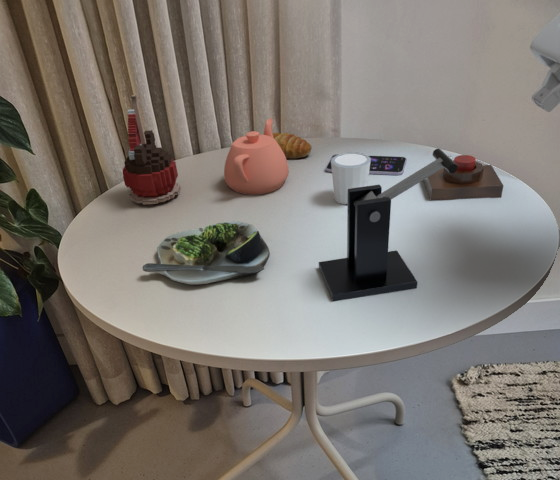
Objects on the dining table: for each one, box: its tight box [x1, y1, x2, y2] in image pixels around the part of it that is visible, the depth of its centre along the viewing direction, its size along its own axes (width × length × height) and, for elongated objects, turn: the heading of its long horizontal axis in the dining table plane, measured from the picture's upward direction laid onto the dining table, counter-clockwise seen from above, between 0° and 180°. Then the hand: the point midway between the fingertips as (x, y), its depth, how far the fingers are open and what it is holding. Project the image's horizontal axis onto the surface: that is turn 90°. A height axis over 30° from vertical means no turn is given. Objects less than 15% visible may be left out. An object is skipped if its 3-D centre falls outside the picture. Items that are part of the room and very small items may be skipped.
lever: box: [354, 148, 458, 207], centre depth 74 cm, size 13×6×2 cm, turn 99°
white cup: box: [331, 151, 371, 205], centre depth 101 cm, size 7×7×7 cm
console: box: [422, 159, 504, 202], centre depth 101 cm, size 12×9×4 cm
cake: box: [122, 94, 181, 205], centre depth 103 cm, size 11×9×18 cm
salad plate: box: [142, 220, 271, 285], centre depth 88 cm, size 19×18×5 cm
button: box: [453, 154, 477, 171], centre depth 100 cm, size 4×4×2 cm
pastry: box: [272, 132, 313, 160], centre depth 119 cm, size 9×7×4 cm
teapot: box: [223, 117, 290, 195], centre depth 108 cm, size 12×18×10 cm
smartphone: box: [325, 153, 408, 176], centre depth 113 cm, size 8×1×15 cm
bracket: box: [318, 184, 418, 302], centre depth 79 cm, size 12×9×13 cm
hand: (539, 105), depth 72 cm, fingers closed
